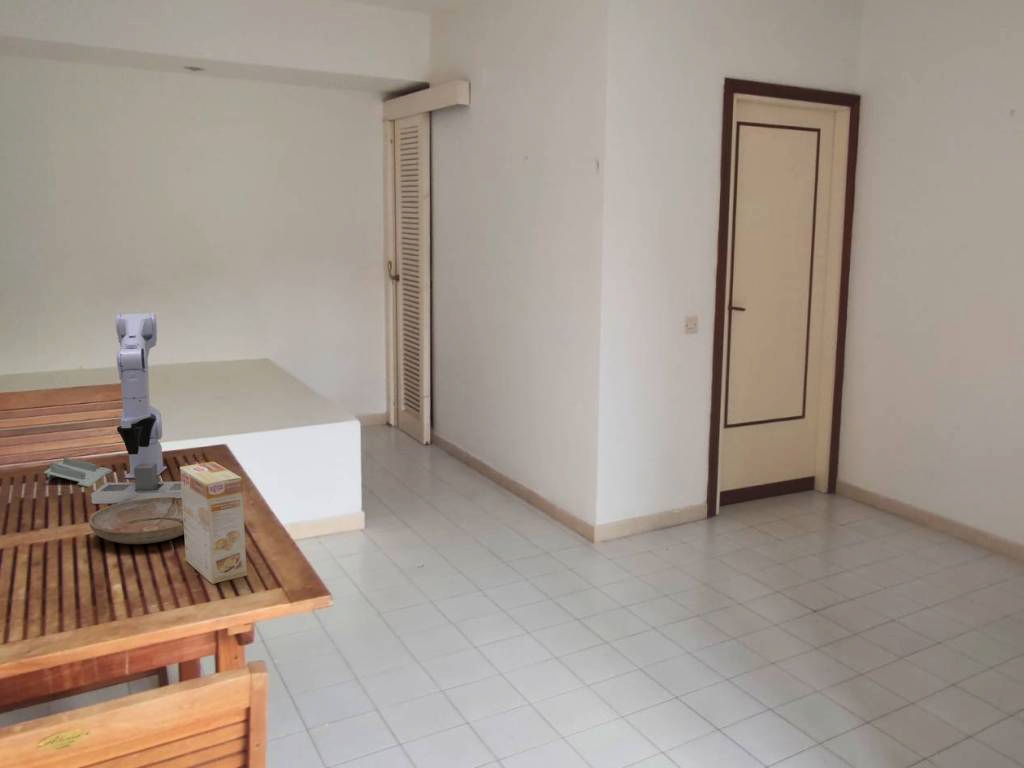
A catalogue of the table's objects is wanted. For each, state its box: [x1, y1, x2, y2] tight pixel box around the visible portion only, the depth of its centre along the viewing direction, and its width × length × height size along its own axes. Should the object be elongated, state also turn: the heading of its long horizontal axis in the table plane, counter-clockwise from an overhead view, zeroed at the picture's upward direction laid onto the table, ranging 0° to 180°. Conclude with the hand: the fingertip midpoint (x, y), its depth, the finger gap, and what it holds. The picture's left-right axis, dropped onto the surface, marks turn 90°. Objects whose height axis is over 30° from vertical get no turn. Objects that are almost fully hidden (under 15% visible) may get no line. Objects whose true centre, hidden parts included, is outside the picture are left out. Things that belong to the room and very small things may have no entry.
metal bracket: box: [43, 456, 113, 488], centre depth 222 cm, size 14×6×15 cm
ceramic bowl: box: [88, 497, 184, 545], centre depth 182 cm, size 23×24×5 cm
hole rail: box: [90, 480, 182, 505], centre depth 207 cm, size 9×24×2 cm, turn 94°
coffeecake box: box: [179, 461, 248, 585], centre depth 162 cm, size 15×7×20 cm, turn 39°
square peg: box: [134, 463, 159, 491], centre depth 206 cm, size 4×4×8 cm
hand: (138, 450), depth 210 cm, fingers open, 7 cm apart
